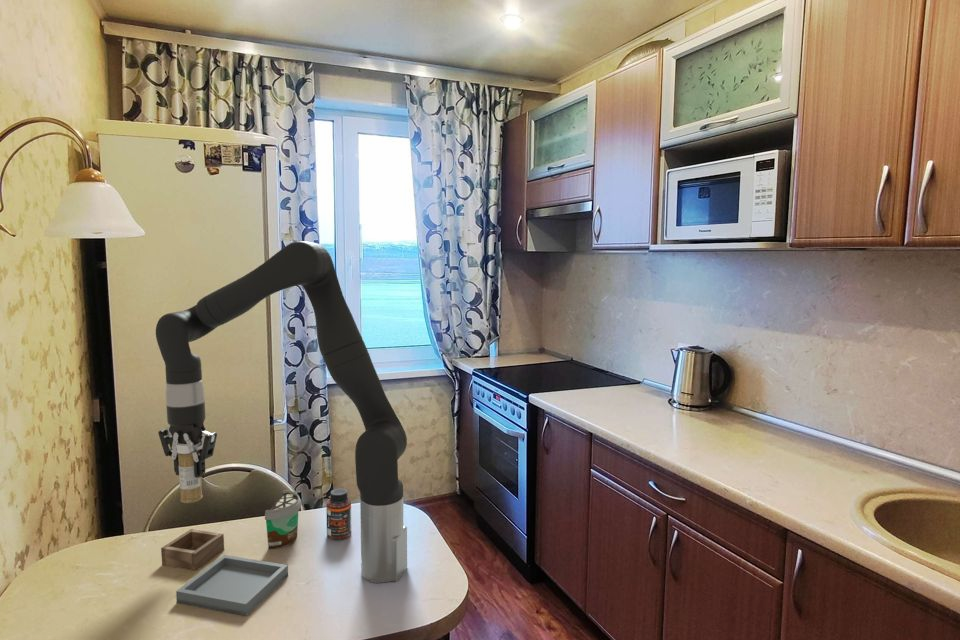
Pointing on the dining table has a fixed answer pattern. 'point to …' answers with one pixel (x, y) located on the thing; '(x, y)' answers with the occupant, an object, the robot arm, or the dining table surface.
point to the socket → (185, 558)
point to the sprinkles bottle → (188, 476)
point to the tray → (232, 585)
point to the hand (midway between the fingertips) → (189, 474)
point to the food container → (283, 520)
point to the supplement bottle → (338, 515)
